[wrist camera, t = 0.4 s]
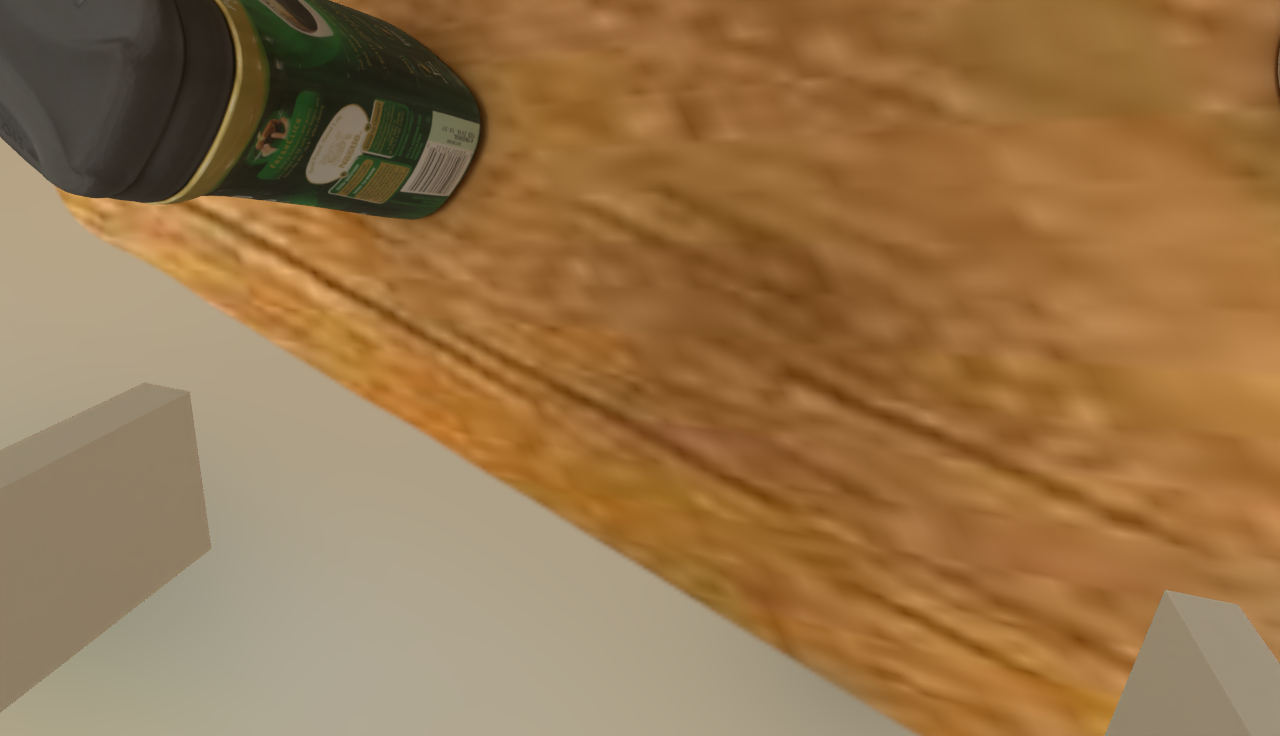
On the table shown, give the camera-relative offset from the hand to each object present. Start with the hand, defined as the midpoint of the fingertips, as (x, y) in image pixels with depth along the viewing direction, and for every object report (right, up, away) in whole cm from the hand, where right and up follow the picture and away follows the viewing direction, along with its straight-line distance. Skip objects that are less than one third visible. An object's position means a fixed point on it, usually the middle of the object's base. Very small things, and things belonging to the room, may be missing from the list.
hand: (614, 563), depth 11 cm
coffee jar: (-11, +15, +29) cm, 35 cm away
